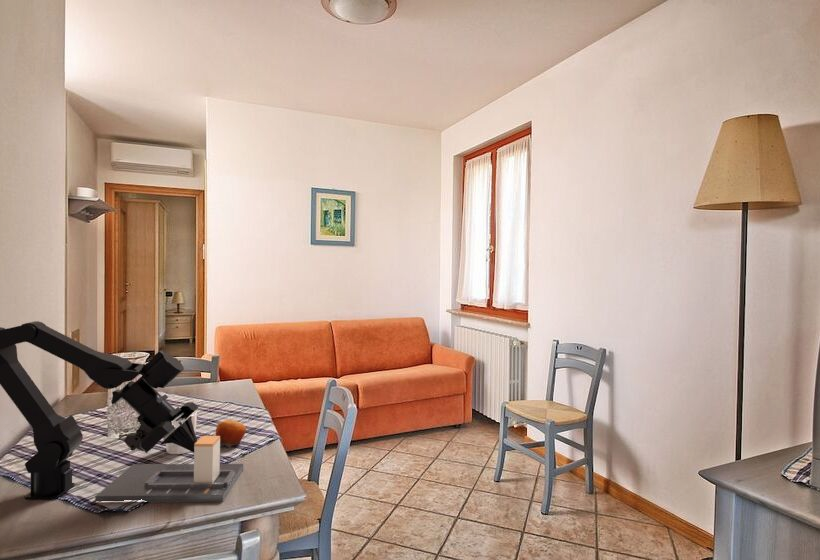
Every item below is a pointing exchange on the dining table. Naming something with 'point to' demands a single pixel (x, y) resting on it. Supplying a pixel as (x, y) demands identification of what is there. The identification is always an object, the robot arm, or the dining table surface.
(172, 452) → the white cup
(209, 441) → the fader cap
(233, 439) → the fruit
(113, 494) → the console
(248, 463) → the dining table surface
